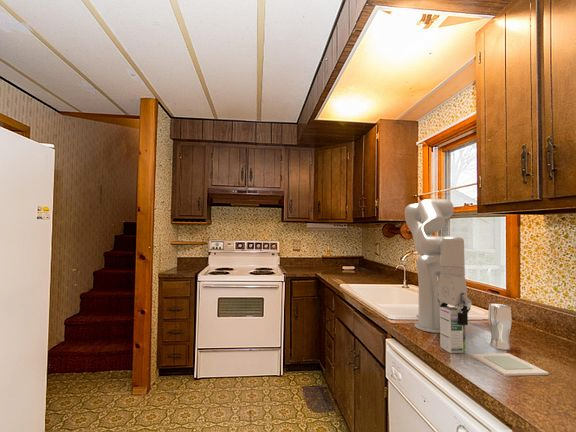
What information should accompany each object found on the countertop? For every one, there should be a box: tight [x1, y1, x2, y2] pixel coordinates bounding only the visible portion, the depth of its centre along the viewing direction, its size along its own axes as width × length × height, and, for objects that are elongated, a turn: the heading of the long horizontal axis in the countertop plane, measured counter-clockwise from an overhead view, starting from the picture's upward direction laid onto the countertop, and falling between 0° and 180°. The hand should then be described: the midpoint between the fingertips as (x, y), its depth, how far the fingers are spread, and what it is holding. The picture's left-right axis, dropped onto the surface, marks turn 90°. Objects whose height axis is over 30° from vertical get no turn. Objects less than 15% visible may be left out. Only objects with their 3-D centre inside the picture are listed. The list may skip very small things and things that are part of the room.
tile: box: [470, 352, 550, 377], centre depth 94 cm, size 14×14×1 cm
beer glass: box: [487, 302, 513, 351], centre depth 109 cm, size 7×7×15 cm
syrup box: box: [439, 306, 467, 354], centre depth 105 cm, size 6×6×14 cm
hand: (453, 320), depth 105 cm, fingers open, 9 cm apart
